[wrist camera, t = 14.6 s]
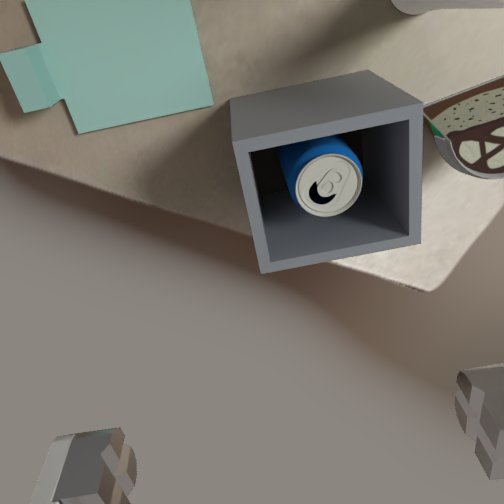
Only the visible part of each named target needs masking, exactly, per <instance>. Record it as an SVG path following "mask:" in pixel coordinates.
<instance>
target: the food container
mask: <svg viewBox="0 0 504 504" xmlns="http://www.w3.org/2000/svg"><path fill="white" fill-rule="evenodd" d="M423 124H424V126H425V127H426V129H427V130H428V131H429V132H430V133H431V134H432V135H433V136H434V139H435V143H436V146H437V148H438V150H439V152H440V154H441V156H442V157H443V158H444V160H445V161H446V162H447V163H448V164H449V165H450V166H451V167H453V168H454V169H456V170H458V171H460V172H462V173H465V174H468V175H471V176H474V177H477V178H483V179H503V178H504V75H502V76H499V77H497V78H494V79H492V80H489V81H486V82H484V83H481V84H478V85H476V86H473V87H471V88H468V89H465V90H463V91H460V92H458V93H455V94H452V95H450V96H447V97H445V98H442V99H439V100H437V101H434V102H431V103H429V104H426V105H424V106H423Z"/></svg>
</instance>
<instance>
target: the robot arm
mask: <svg viewBox="0 0 504 504" xmlns="http://www.w3.org/2000/svg"><path fill="white" fill-rule="evenodd" d="M456 382H457V384H458V386H459V387H460V390H459V391H458V392H457V393H456V394H455V402H454V405H455V409H456V415H457V418H458V420H459V423H460V425H461V427H462V429H463V431H464V433H465V435H467V436H468V437H470V438H471V439H472V440H474V441H475V442H476V448H475V454H476V456H477V458H478V460H479V461H480V463H481V465H482V467H483V469H484V471H485V473H486V475H487V476H488V478H489V480H496V479H504V364H496V365H490V366H484V367H479V368H473V369H467V370H462V371H459V373H458V374H457V381H456ZM124 438H125V435H124V433H123V432H122V430H121V428H120V427H119V428H112V429H105V430H97V431H90V432H83V433H75V434H69V435H63V436H57V437H56V438H55V440H54V441H53V442H52V444H51V446H50V449H49V452H48V454H47V457H46V460H45V462H44V465H43V468H42V470H41V473H40V476H39V478H38V481H37V484H36V487H35V489H34V492H33V494H32V497H31V500H30V503H29V504H131V503H130V502H129V500H128V498H127V496H128V495H129V493H130V492H131V491H132V490H133V488H134V487H135V482H136V476H137V465H136V464H137V463H136V458H135V454H134V451H133V450H132V448H131V446H129V445H127V444H125V443H124Z"/></svg>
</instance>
